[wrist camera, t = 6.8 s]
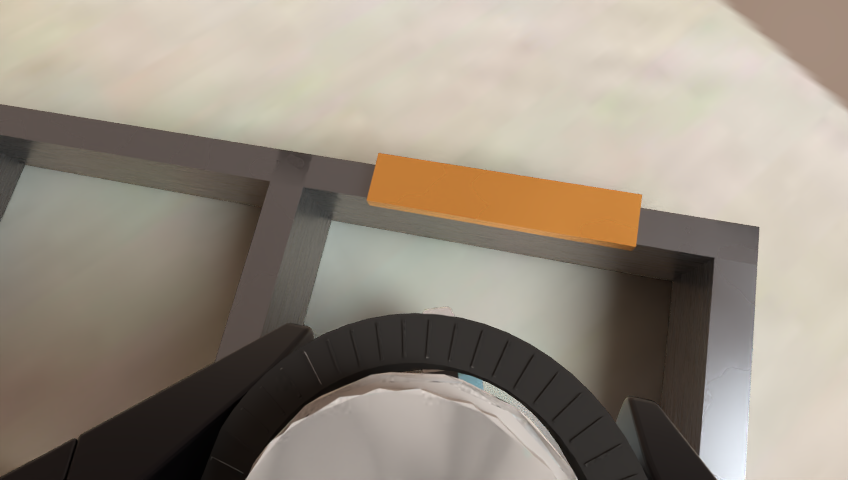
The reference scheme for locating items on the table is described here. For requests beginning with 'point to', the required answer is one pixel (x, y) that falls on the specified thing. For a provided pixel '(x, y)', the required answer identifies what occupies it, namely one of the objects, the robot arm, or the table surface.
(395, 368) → the push button
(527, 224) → the grey divided tray
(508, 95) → the table surface
